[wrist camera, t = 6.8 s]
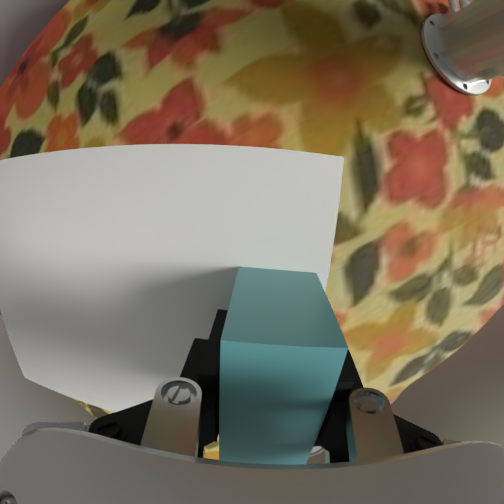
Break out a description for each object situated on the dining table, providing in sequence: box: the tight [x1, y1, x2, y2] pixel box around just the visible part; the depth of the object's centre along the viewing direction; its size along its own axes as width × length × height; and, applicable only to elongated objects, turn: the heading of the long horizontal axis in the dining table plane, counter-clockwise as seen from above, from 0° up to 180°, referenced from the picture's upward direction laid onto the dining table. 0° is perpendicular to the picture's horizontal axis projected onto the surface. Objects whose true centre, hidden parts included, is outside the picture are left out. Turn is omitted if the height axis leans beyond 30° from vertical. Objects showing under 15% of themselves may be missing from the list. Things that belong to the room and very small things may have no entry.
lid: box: [0, 144, 348, 465], centre depth 11 cm, size 15×19×7 cm
